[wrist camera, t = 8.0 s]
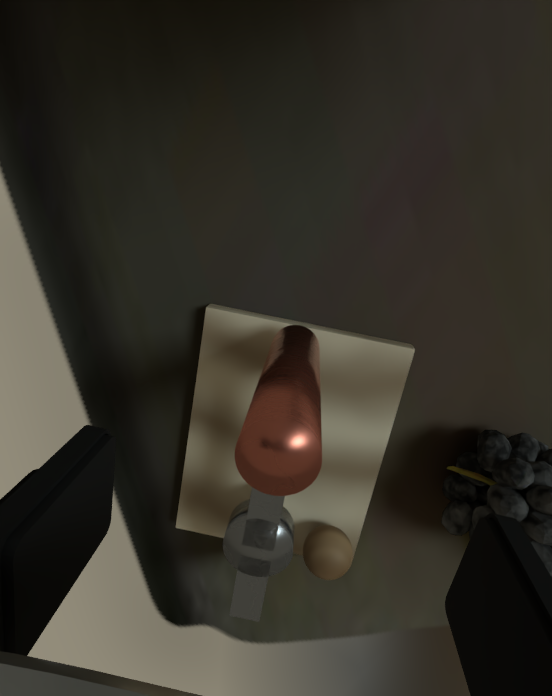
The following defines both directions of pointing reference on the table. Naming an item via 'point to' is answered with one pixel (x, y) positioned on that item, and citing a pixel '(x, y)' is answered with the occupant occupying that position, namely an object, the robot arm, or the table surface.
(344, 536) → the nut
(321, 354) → the board
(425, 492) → the table surface
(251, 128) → the table surface
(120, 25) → the table surface
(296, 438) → the lever
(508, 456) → the fruit
